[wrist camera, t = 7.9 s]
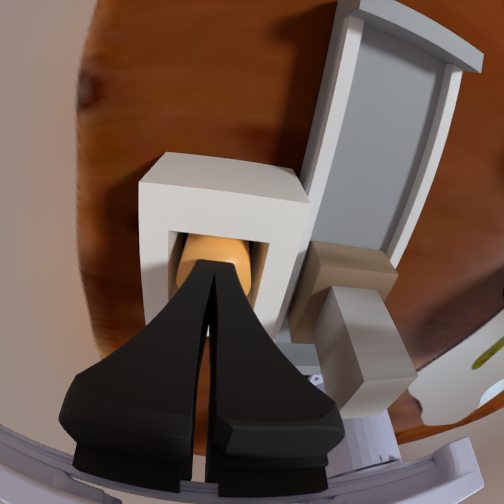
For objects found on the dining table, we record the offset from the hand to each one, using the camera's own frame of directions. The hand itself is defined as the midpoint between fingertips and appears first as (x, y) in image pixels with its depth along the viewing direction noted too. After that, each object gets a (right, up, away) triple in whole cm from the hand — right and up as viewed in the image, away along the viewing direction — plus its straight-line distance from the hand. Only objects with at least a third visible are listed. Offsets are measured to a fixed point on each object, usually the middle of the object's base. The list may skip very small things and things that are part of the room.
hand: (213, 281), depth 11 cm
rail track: (+6, +3, +3) cm, 8 cm away
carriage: (+6, -1, +4) cm, 7 cm away
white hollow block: (0, +2, +4) cm, 4 cm away
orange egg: (0, +2, +3) cm, 4 cm away
